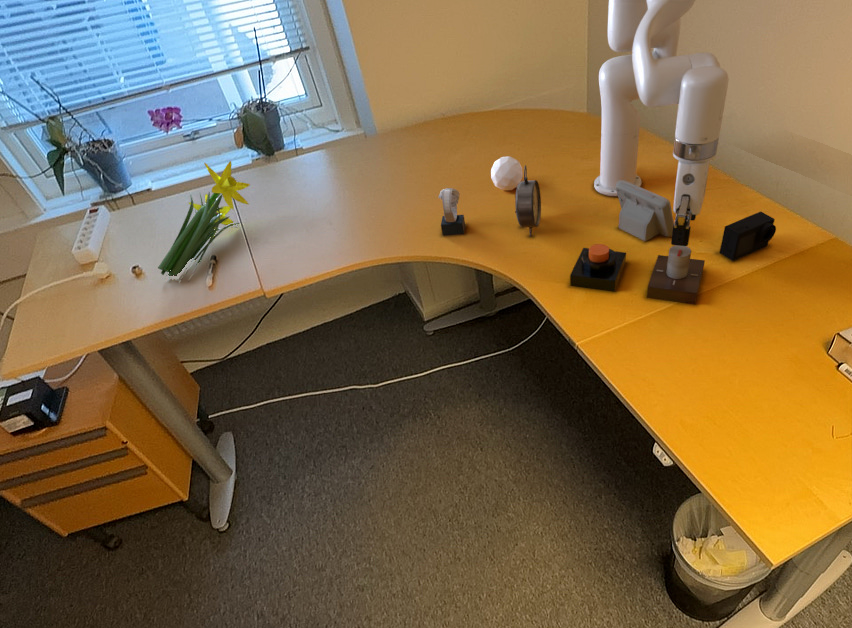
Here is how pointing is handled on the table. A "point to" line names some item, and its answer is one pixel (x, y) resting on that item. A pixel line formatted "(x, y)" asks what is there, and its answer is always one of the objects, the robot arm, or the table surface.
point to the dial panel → (675, 282)
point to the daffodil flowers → (203, 222)
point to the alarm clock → (528, 203)
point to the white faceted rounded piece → (506, 173)
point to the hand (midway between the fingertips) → (683, 231)
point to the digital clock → (643, 212)
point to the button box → (598, 271)
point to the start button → (598, 253)
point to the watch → (451, 213)
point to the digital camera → (747, 235)
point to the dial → (678, 262)
